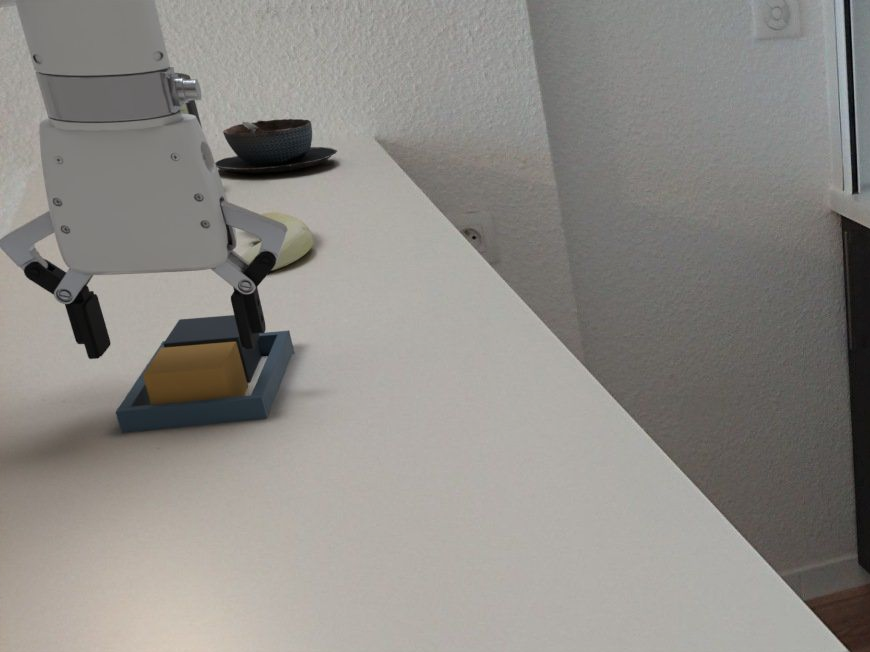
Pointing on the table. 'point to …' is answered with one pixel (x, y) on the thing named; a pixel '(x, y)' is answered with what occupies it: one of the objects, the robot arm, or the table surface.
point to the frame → (146, 417)
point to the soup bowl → (272, 147)
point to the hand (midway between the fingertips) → (177, 347)
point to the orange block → (195, 373)
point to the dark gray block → (214, 338)
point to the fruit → (287, 241)
